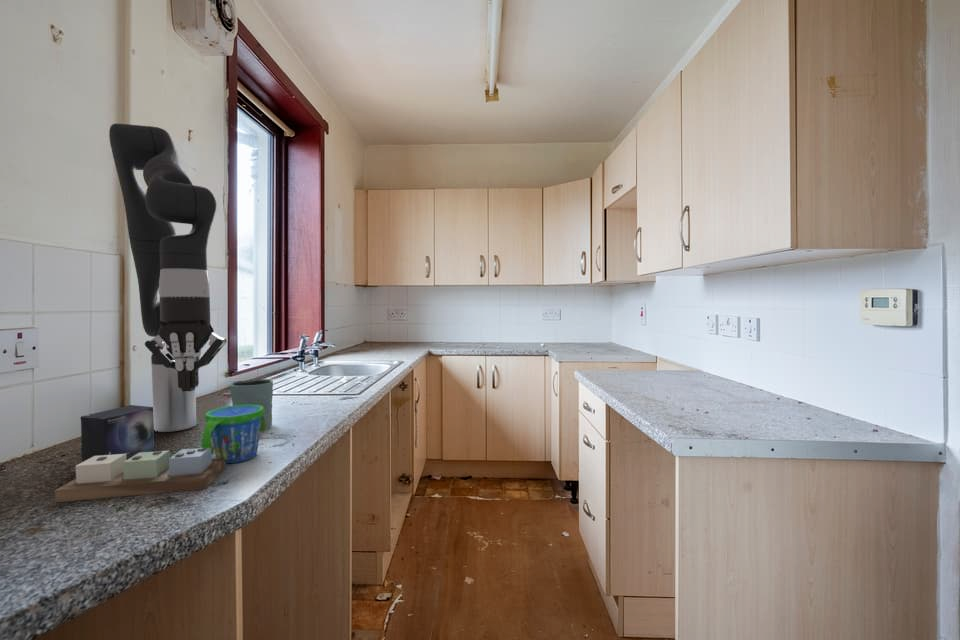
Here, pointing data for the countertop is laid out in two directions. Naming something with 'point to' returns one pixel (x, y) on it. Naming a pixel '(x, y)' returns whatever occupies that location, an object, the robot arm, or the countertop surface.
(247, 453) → the snack cup
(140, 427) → the small box
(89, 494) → the board
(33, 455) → the countertop surface
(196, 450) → the tile three
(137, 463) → the tile two
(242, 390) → the grey green plant pot
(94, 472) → the tile one
